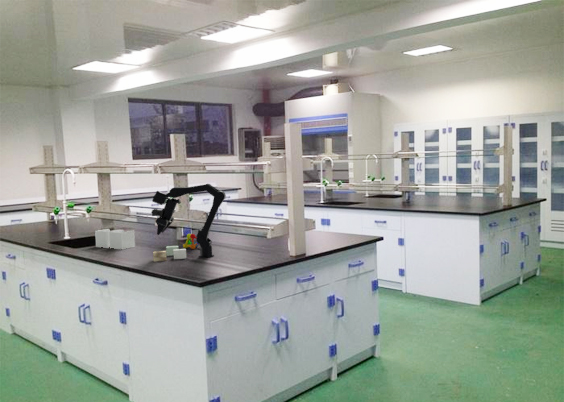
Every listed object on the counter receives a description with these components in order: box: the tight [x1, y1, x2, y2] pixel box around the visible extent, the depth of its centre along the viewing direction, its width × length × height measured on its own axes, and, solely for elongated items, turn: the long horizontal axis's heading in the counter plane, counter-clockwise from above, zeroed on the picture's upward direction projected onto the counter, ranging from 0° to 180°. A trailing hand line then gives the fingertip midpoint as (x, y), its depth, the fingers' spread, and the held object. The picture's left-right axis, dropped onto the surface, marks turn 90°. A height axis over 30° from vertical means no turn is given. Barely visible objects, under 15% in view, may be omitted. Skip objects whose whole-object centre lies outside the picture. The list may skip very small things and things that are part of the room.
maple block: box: [152, 250, 168, 262], centre depth 277 cm, size 7×4×5 cm, turn 103°
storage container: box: [94, 228, 136, 250], centre depth 326 cm, size 25×11×11 cm, turn 59°
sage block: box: [165, 245, 179, 257], centre depth 292 cm, size 7×4×5 cm, turn 103°
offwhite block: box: [173, 248, 187, 260], centre depth 281 cm, size 7×4×5 cm, turn 103°
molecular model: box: [182, 233, 200, 250], centre depth 313 cm, size 11×10×15 cm
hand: (159, 233), depth 282 cm, fingers open, 9 cm apart
